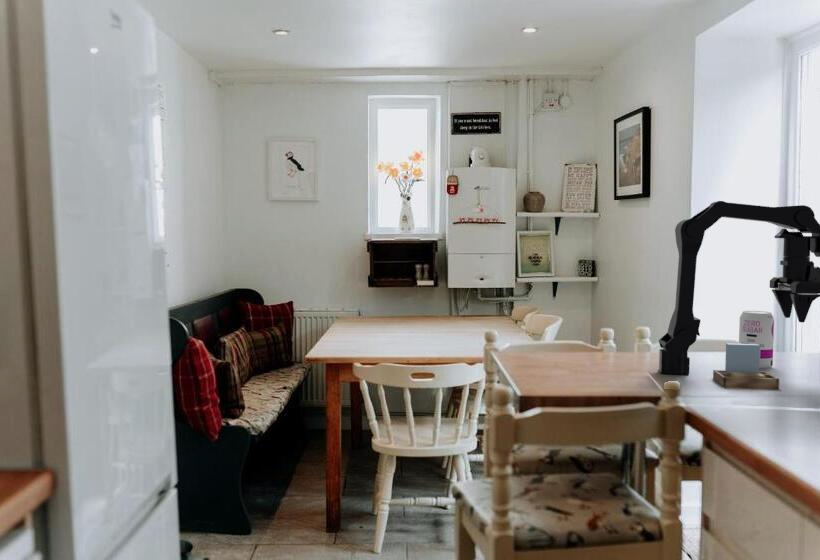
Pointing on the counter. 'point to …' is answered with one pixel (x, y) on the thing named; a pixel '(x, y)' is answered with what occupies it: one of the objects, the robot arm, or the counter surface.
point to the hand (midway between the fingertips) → (794, 319)
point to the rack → (746, 381)
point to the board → (742, 358)
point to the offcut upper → (747, 375)
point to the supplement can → (758, 334)
